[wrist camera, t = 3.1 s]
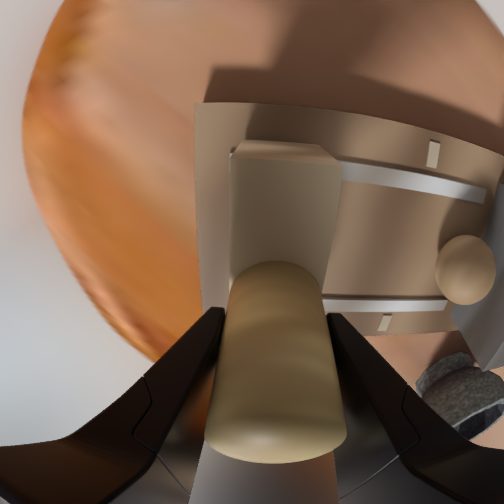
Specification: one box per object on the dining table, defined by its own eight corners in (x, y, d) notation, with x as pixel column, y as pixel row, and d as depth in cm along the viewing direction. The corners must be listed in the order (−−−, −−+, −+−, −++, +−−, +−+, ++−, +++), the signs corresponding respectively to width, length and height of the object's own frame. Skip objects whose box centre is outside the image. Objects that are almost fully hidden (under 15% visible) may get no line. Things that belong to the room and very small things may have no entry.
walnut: (480, 226, 12) (517, 258, 9) (461, 279, 14) (489, 317, 11) (435, 219, 12) (472, 254, 9) (416, 278, 14) (443, 321, 11)
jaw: (318, 144, 11) (440, 267, 3) (295, 319, 15) (305, 486, 7) (242, 139, 11) (170, 252, 3) (238, 316, 15) (217, 483, 7)
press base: (519, 162, 11) (590, 202, 5) (465, 315, 17) (502, 378, 11) (202, 102, 12) (145, 105, 6) (208, 313, 17) (186, 401, 12)
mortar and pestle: (474, 320, 17) (535, 440, 7) (490, 360, 20) (531, 449, 10) (367, 394, 22) (389, 516, 11) (407, 416, 24) (427, 507, 14)
